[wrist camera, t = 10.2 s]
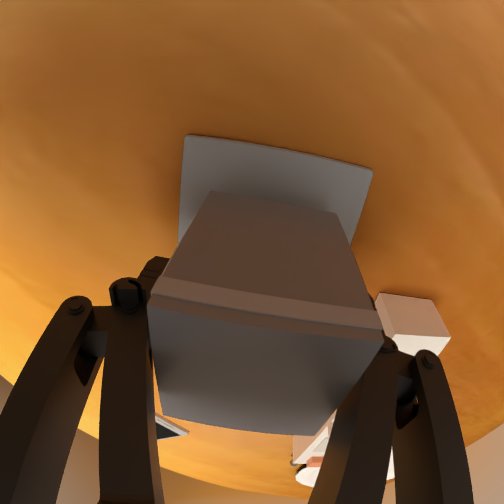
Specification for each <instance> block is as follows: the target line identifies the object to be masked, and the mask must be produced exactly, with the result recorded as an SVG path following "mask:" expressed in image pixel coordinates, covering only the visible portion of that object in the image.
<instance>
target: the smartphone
mask: <svg viewBox="0 0 504 504" xmlns="http://www.w3.org/2000/svg"><path fill="white" fill-rule="evenodd" d="M155 422H156V435H157V440H162V439H168V438H174V437H179V436H184V435H188V432H189V431H188V430H186V429H184V428H182V427H180V426H178V425H177V424H175V423H173V422H171V421H169V420H167V419H166V418H164V417H162V416H160V415H159V414H157V413H155Z"/></svg>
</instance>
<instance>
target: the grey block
mask: <svg viewBox="0 0 504 504" xmlns="http://www.w3.org/2000/svg"><path fill="white" fill-rule="evenodd" d="M147 315H148V324H149V332H150V340H151V347H152V354H153V361H154V368H155V374H156V380H157V385H158V391H159V396H160V402H161V407H162V412H163V415H165V416H169V417H173V418H178V419H182V420H186V421H191V422H196V423H201V424H206V425H212V426H218V427H224V428H230V429H237V430H244V431H252V432H261V433H271V434H283V435H298V436H315V435H316V433H317V432H318V431H319V430H320V429H321V428H322V426H323V425H324V424H325V423H326V422H327V420H328V419H329V418H330V417H331V415H332V414H333V413H334V412H335V410H336V409H337V408H338V407H339V405H340V404H341V403H342V401H343V400H344V399H345V398H346V396H347V395H348V394H349V392H350V391H351V390H352V388H353V387H354V385H355V384H356V383H357V381H358V380H359V379H360V377H361V376H362V374H363V373H364V371H365V370H366V369H367V367H368V366H369V364H370V363H371V361H372V360H373V358H374V357H375V355H376V354H377V352H378V351H379V349H380V348H381V346H382V344H383V343H384V339H383V336H382V332H381V330H382V329H383V327H382V324H381V321H380V318H379V316H378V313H377V311H374V308H373V306H372V303H371V300H370V297H369V294H368V291H367V289H366V286H365V283H364V281H363V278H362V275H361V273H360V270H359V267H358V265H357V262H356V260H355V257H354V255H353V252H352V250H351V247H350V245H349V242H348V240H347V237H346V235H345V232H344V230H343V228H342V225H341V223H340V221H339V218H338V216H337V214H336V213H333V212H328V211H323V210H318V209H313V208H308V207H303V206H298V205H293V204H287V203H282V202H276V201H271V200H265V199H260V198H254V197H248V196H242V195H236V194H230V193H224V192H217V191H211V190H210V192H209V194H208V195H207V197H206V199H205V200H204V202H203V204H202V206H201V207H200V209H199V211H198V212H197V214H196V216H195V217H194V219H193V221H192V223H191V224H190V226H189V228H188V230H187V231H186V233H185V235H184V237H183V238H182V240H181V242H180V244H179V245H178V247H177V249H176V251H175V253H174V254H173V256H172V258H171V260H170V262H169V264H168V265H167V267H166V269H165V271H164V273H163V275H162V276H159V277H158V279H157V281H156V283H155V284H154V286H153V288H152V290H151V298H150V300H149V302H148V303H147Z"/></svg>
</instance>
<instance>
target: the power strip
mask: <svg viewBox="0 0 504 504" xmlns="http://www.w3.org/2000/svg"><path fill="white" fill-rule="evenodd" d="M375 306H376V307H375V308H376V309H377V312H378V314H379V317H380V320H381V323H382V326H383V329H384V332H385V335H386V336H388V337H390V338H391V339H392V340H393V341H395V343H396V344H397V346H398V350H399V351H401V352H404V353H407V354H410V355H413V356H415V354H416V353H417V352H418V351H419V350H422V349H426V350H430V351H432V352H433V353H435V354H436V355H437V356H438V355H439V353H440V352H441V351H442V349H443V348H444V347H445V345H446V344H447V343H448V341H449V340H450V339H451V336H450V334H449V332H448V330H447V328H446V326H445V324H444V322H443V320H442V318H441V316H440V314H439V313H438V311H437V309H436V307H435V305H434V303H433V302H432V300H429V299H421V298H414V297H407V296H400V295H393V294H386V293H379V294H378V297H377V299H376V301H375ZM336 411H337V409H336V410H335V412H334V413H333V414H332V415H331V417H330V418H329V419H328V420H327V422H326V423H325V424H324V425H323V426H322V428H321V429H320V430H319V431H318V432H317V433H316V435H315V436H298V435H293V459H292V460H291V461H290V464H291V465H292V466H296V465H298V464H306V467H321V464H322V461H323V457H324V454H325V451H326V448H327V444H328V441H329V437H330V434H331V430H332V426H333V423H334V419H335V415H336Z"/></svg>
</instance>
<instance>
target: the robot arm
mask: <svg viewBox="0 0 504 504" xmlns="http://www.w3.org/2000/svg"><path fill="white" fill-rule="evenodd" d="M196 214H197V213H196ZM195 216H196V215H195ZM195 216H194V217H195ZM193 219H194V218H193ZM192 221H193V220H192ZM192 221H191V223H192ZM191 223H190V224H191ZM189 226H190V225H189ZM188 228H189V227H188ZM188 228H187V230H188ZM187 230H186V231H187ZM185 233H186V232H185ZM184 235H185V234H184ZM184 235H183V237H184ZM183 237H182V238H183ZM181 240H182V239H181ZM180 242H181V241H180ZM180 242H179V244H180ZM179 244H178V245H179ZM177 247H178V246H177ZM176 249H177V248H176ZM175 251H176V250H175ZM175 251H174V253H175ZM174 253H173V254H174ZM172 256H173V255H172ZM171 258H172V257H171ZM170 260H171V259H169V258H164V257H159V256H155V257H154V258H152V259H151V260H149V261H148V262H147V264H146V265H145V267H144V268H143V270H142V271H141V273H140V276H138V278H137V279H136V278H131V277H127V278H121V279H118V280H116V281H115V282H113V283H112V284H111V286H110V288H109V293H110V298H111V303H112V305H111V306H92V303H91V301H90V300H89V299H88V298H86V297H84V296H73V297H70V298H68V299H66V300H65V301H64V302H63V303H62V304H61V306H60V307H59V309H58V310H57V312H56V313H55V315H54V316H53V318H52V320H51V321H50V323H49V324H48V326H47V328H46V329H45V331H44V333H43V334H42V336H41V338H40V339H39V341H38V343H37V344H36V346H35V348H34V350H33V351H32V353H31V355H30V357H29V358H28V360H27V362H26V364H25V366H24V368H23V370H22V371H21V373H20V375H19V377H18V379H17V381H16V383H15V385H14V387H13V389H12V391H11V393H10V395H9V397H8V399H7V402H6V404H5V406H4V408H3V411H2V413H1V415H0V504H56V500H57V496H58V491H59V488H60V484H61V480H62V476H63V473H64V469H65V466H66V462H67V459H68V455H69V452H70V449H71V446H72V442H73V439H74V436H75V433H76V430H77V427H78V424H79V421H80V418H81V416H82V413H83V410H84V407H85V404H86V402H87V399H88V396H89V394H90V391H91V388H92V386H93V383H94V381H95V378H96V375H97V373H98V370H99V368H100V365H101V363H102V361H103V358H104V357H105V359H104V368H103V378H102V389H101V403H100V422H99V480H100V500H99V502H98V503H97V504H165V502H164V496H163V490H162V482H161V474H160V466H159V457H158V447H157V435H156V422H155V406H154V384H153V354H152V347H151V340H150V332H149V324H148V315H147V303H148V302H149V300H150V298H151V290H152V288H153V286H154V284H155V283H156V281H157V279H158V277H159V276H162V275H163V273H164V271H165V269H166V267H167V265H168V264H169V262H170ZM368 294H369V293H368ZM369 297H370V300H371V303H372V306H373V308H374V311H377V309H376V308H375V307H376V306H375V303H374V300H373V298H372V297H371V296H370V295H369ZM377 313H378V312H377ZM378 316H379V314H378ZM379 318H380V317H379ZM380 321H381V320H380ZM381 324H382V323H381ZM382 327H383V326H382ZM381 332H382V336H383V339H384V343H383V344H382V346H381V348H380V349H379V351H378V352H377V354H376V355H375V357H374V358H373V360H372V361H371V363H370V364H369V366H368V367H367V369H366V370H365V371H364V373H363V374H362V376H361V377H360V379H359V380H358V381H357V383H356V384H355V385H354V387H353V388H352V390H351V391H350V392H349V394H348V395H347V396H346V398H345V399H344V400H343V401H342V403H341V404H340V405H339V407H338V408H337V411H336V415H335V419H334V423H333V426H332V430H331V434H330V437H329V441H328V444H327V448H326V451H325V454H324V457H323V461H322V464H321V467H320V470H319V473H318V476H317V479H316V482H315V485H314V488H313V491H312V493H311V496H310V499H309V502H308V504H381V503H382V499H383V494H384V490H385V485H386V480H387V474H388V468H389V462H390V456H391V449H392V452H393V463H394V476H395V493H396V504H474V501H473V492H472V485H471V478H470V472H469V466H468V461H467V455H466V451H465V446H464V441H463V437H462V432H461V428H460V424H459V420H458V416H457V412H456V409H455V405H454V402H453V398H452V395H451V391H450V388H449V385H448V382H447V378H446V375H445V372H444V369H443V366H442V363H441V361H440V359H439V357H438V356H437V355H436V354H435V353H433V352H432V351H430V350H426V349H422V350H419V351H418V352H417V353H416V354H415V356H413V355H410V354H407V353H404V352H401V351H399V350H398V346H397V344H396V343H395V341H393V340H392V339H391V338H390V337H388V336H386V335H385V332H384V329H382V330H381ZM416 398H417V399H416ZM417 400H418V402H417Z"/></svg>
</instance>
